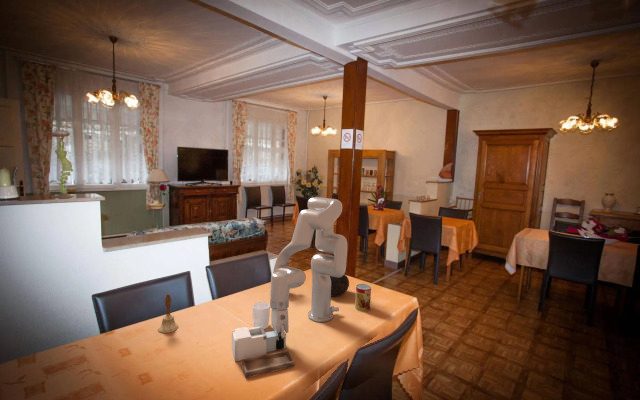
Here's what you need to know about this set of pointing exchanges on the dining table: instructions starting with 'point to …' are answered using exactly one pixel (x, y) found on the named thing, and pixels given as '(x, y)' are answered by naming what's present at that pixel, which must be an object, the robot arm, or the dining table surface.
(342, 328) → the dining table surface
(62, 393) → the dining table surface
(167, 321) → the hand bell
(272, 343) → the white rectangular block
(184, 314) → the dining table surface
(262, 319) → the white cup
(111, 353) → the dining table surface
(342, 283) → the black round vase
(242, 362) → the tray
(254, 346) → the dispenser
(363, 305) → the canned food
